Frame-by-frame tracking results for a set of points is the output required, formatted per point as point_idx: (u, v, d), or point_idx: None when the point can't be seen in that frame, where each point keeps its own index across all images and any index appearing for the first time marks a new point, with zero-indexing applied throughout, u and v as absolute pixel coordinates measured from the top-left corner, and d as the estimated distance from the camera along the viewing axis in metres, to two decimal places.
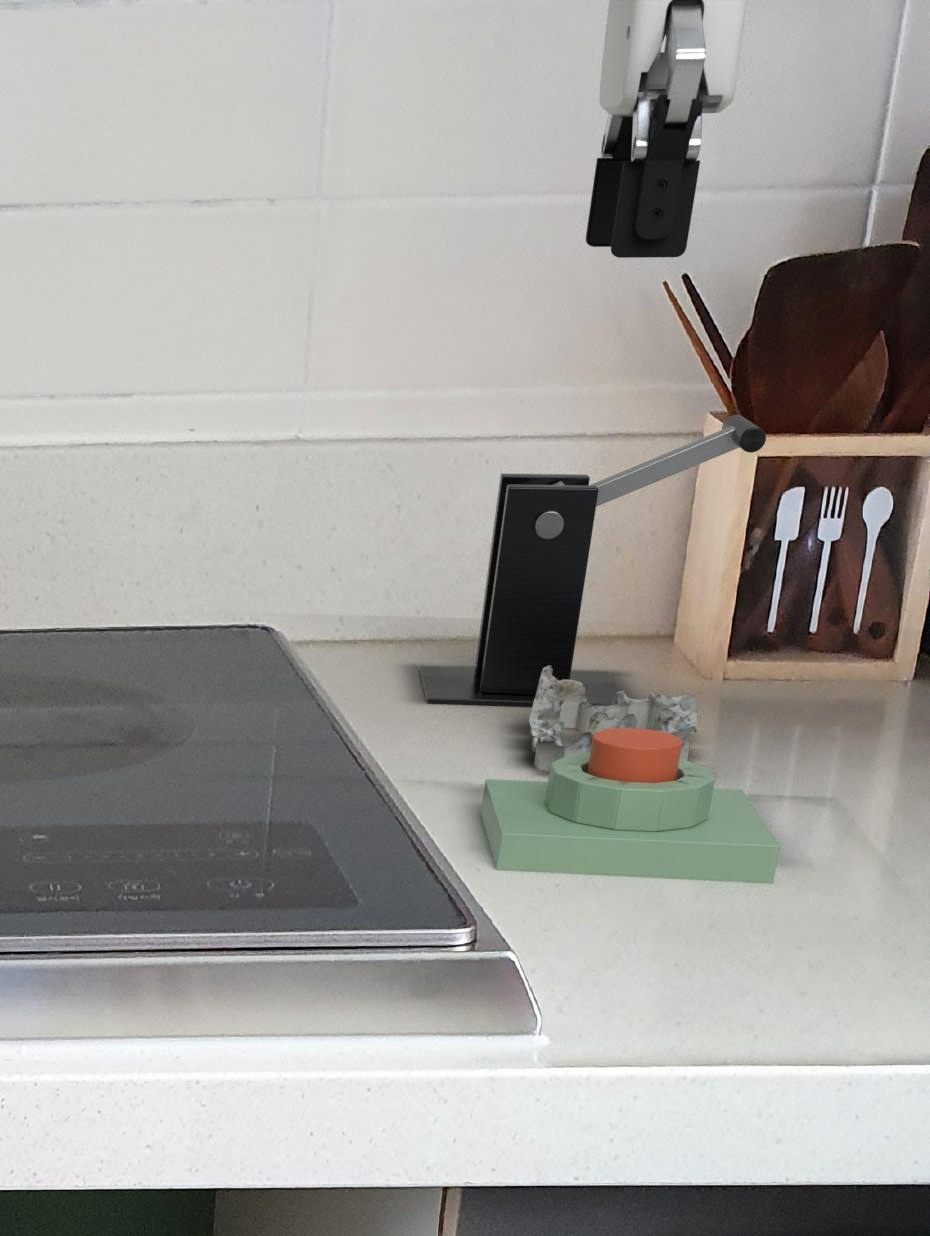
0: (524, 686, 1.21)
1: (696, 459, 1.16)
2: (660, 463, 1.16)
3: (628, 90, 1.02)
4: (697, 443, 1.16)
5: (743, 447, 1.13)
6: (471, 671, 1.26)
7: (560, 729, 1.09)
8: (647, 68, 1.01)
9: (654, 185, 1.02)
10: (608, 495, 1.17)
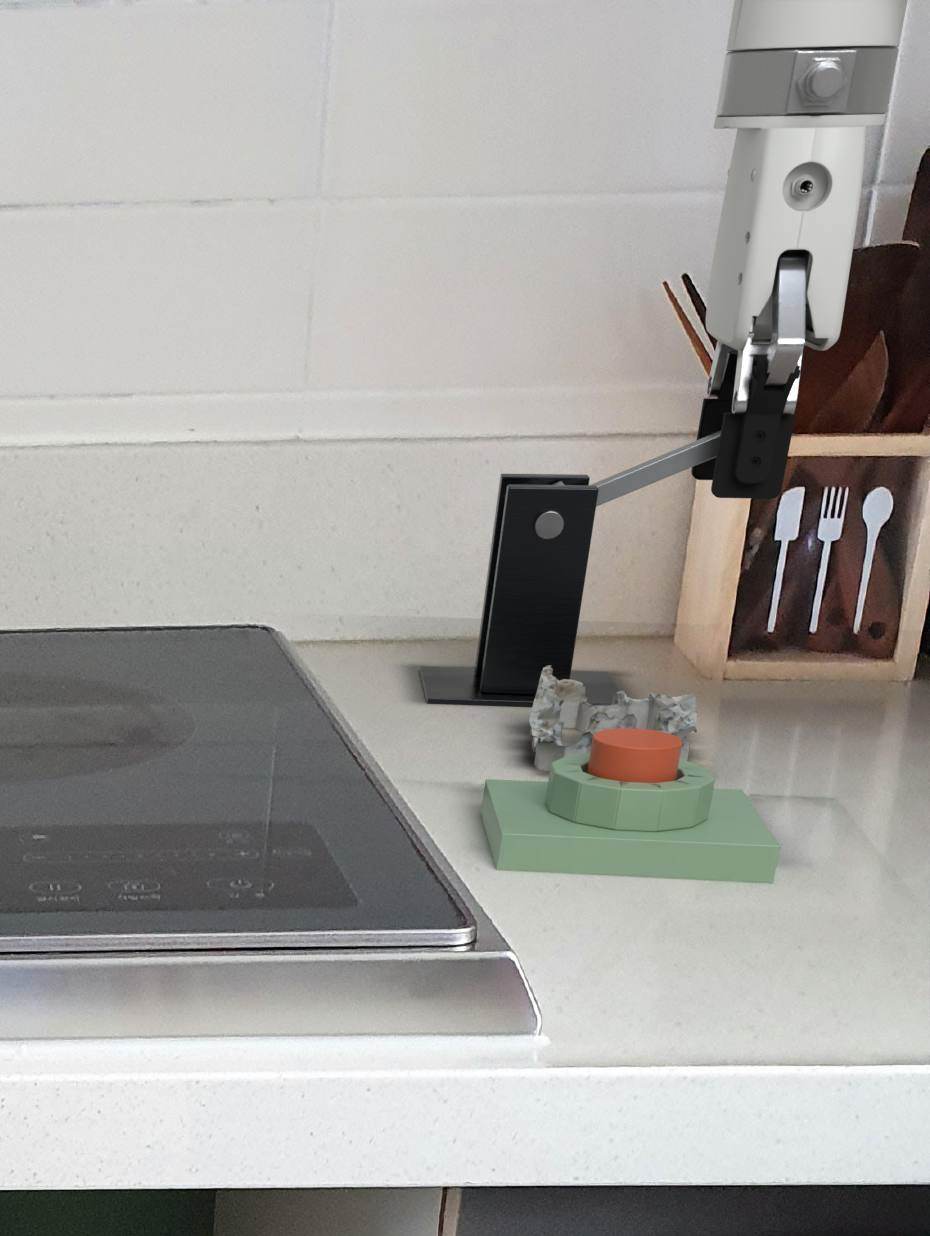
0: (524, 686, 1.21)
1: (696, 459, 1.16)
2: (660, 463, 1.16)
3: (739, 331, 1.09)
4: (697, 443, 1.16)
5: None
6: (471, 671, 1.26)
7: (560, 729, 1.09)
8: (758, 312, 1.09)
9: (753, 436, 1.12)
10: (608, 495, 1.17)
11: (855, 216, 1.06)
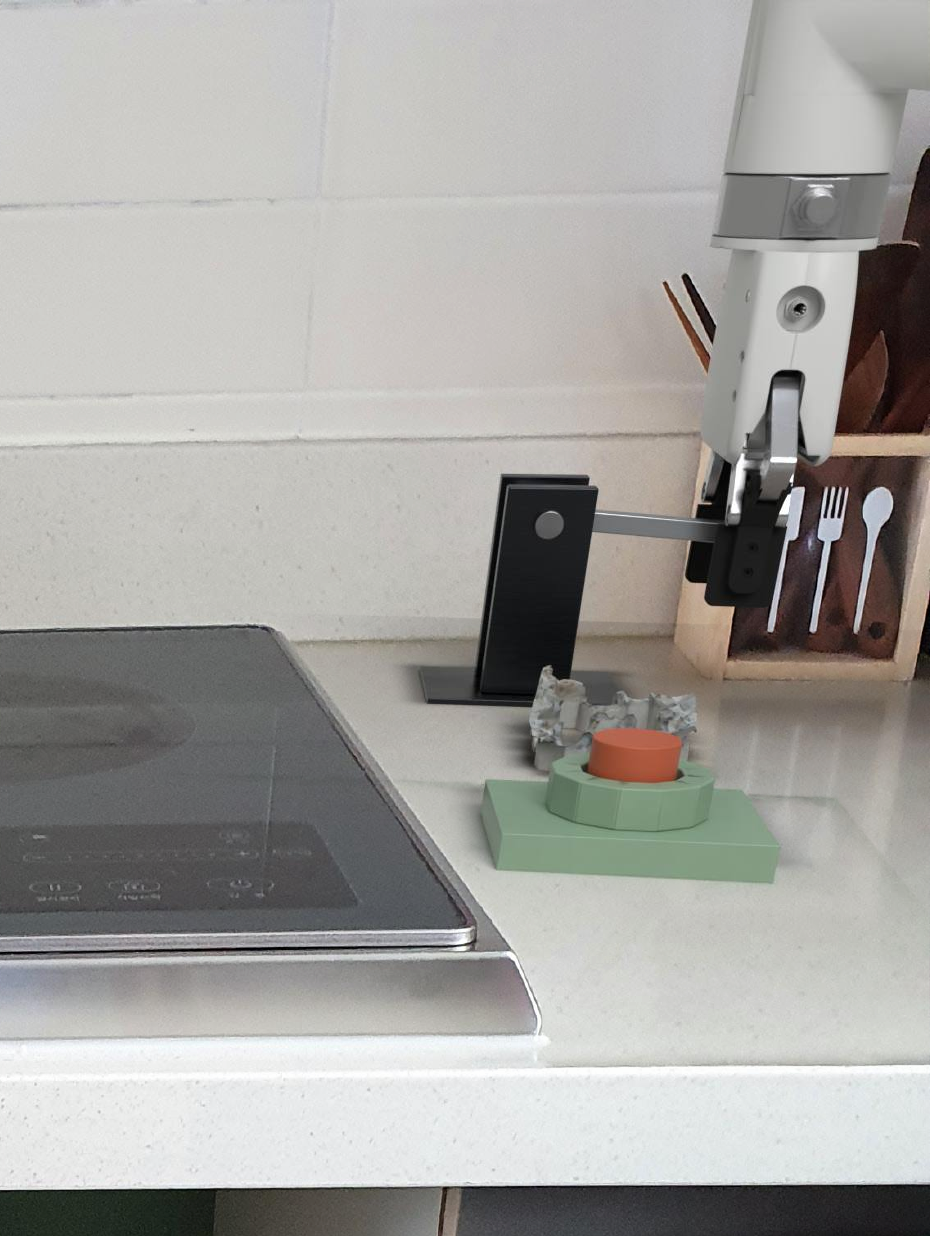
0: (524, 686, 1.21)
1: (695, 535, 1.17)
2: (664, 522, 1.17)
3: (733, 447, 1.12)
4: (704, 521, 1.17)
5: None
6: (471, 671, 1.26)
7: (560, 729, 1.09)
8: (751, 430, 1.11)
9: (745, 548, 1.14)
10: (607, 527, 1.18)
11: (847, 338, 1.08)
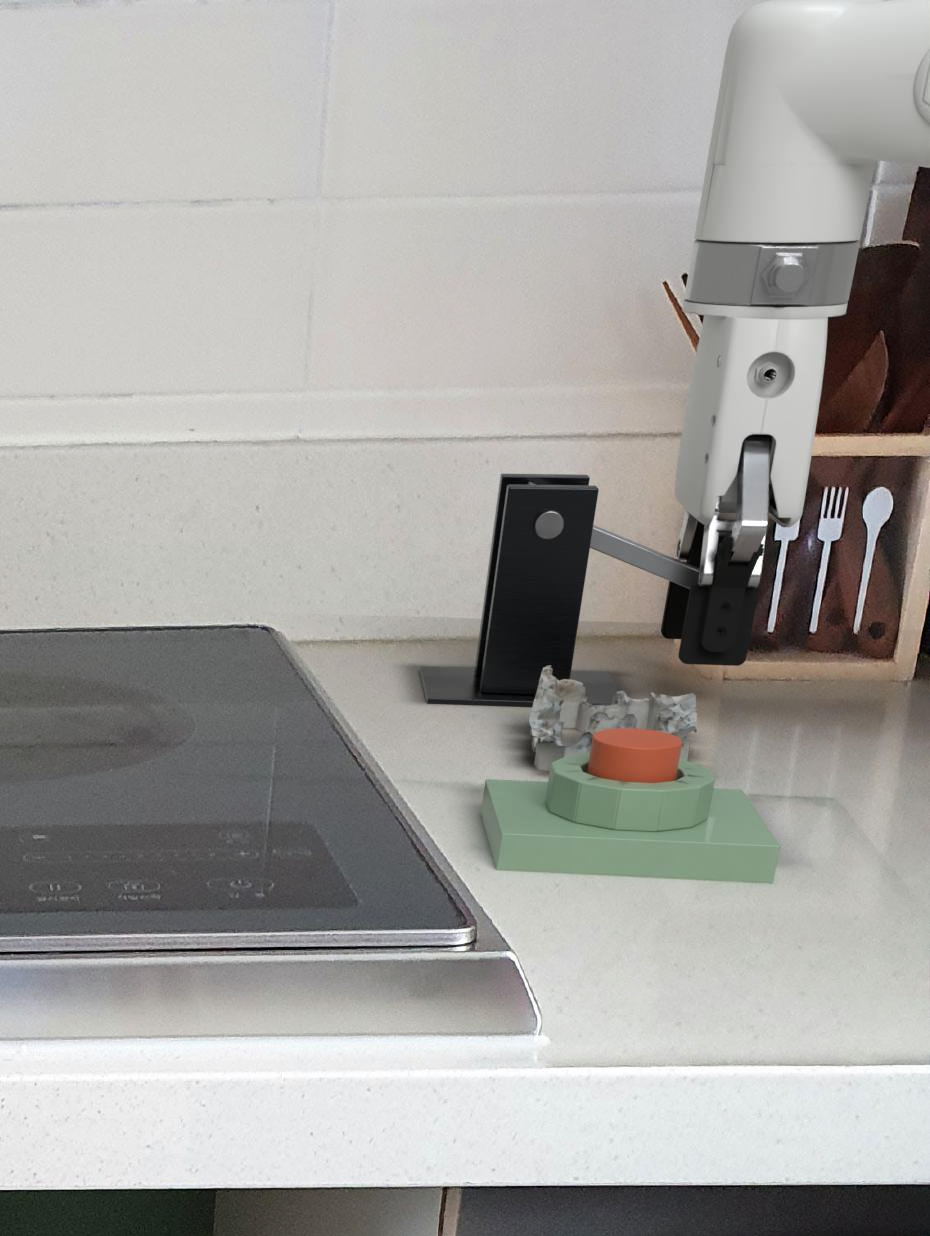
0: (524, 686, 1.21)
1: (676, 577, 1.18)
2: (653, 556, 1.18)
3: (705, 509, 1.13)
4: (689, 566, 1.18)
5: None
6: (471, 671, 1.26)
7: (560, 729, 1.09)
8: (723, 492, 1.12)
9: (718, 607, 1.15)
10: (599, 545, 1.19)
11: (817, 403, 1.10)
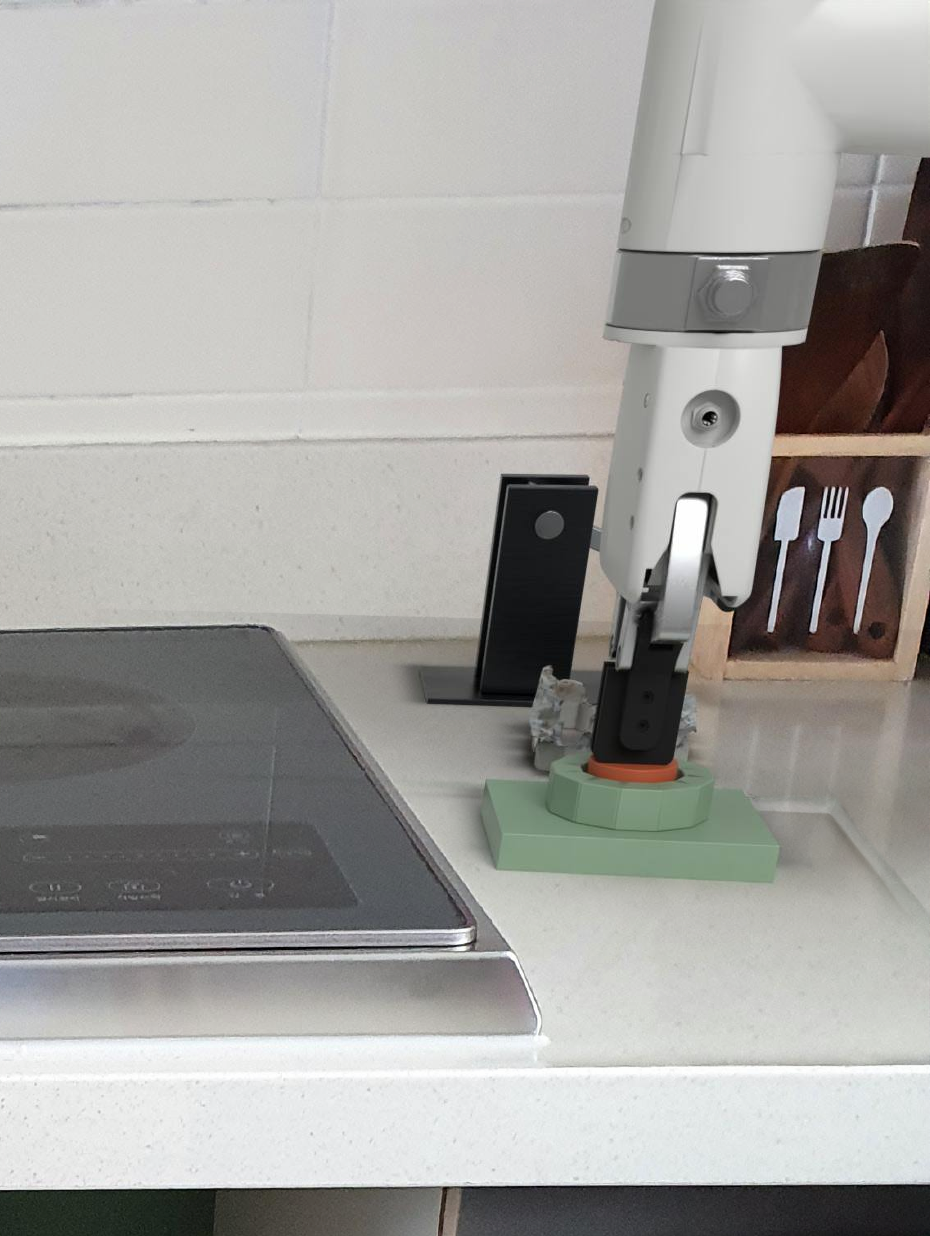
0: (524, 686, 1.21)
1: None
2: None
3: (631, 585, 0.91)
4: None
5: (719, 599, 1.16)
6: (471, 671, 1.26)
7: (560, 729, 1.09)
8: (653, 565, 0.90)
9: (639, 696, 0.95)
10: (599, 545, 1.19)
11: (769, 454, 0.87)
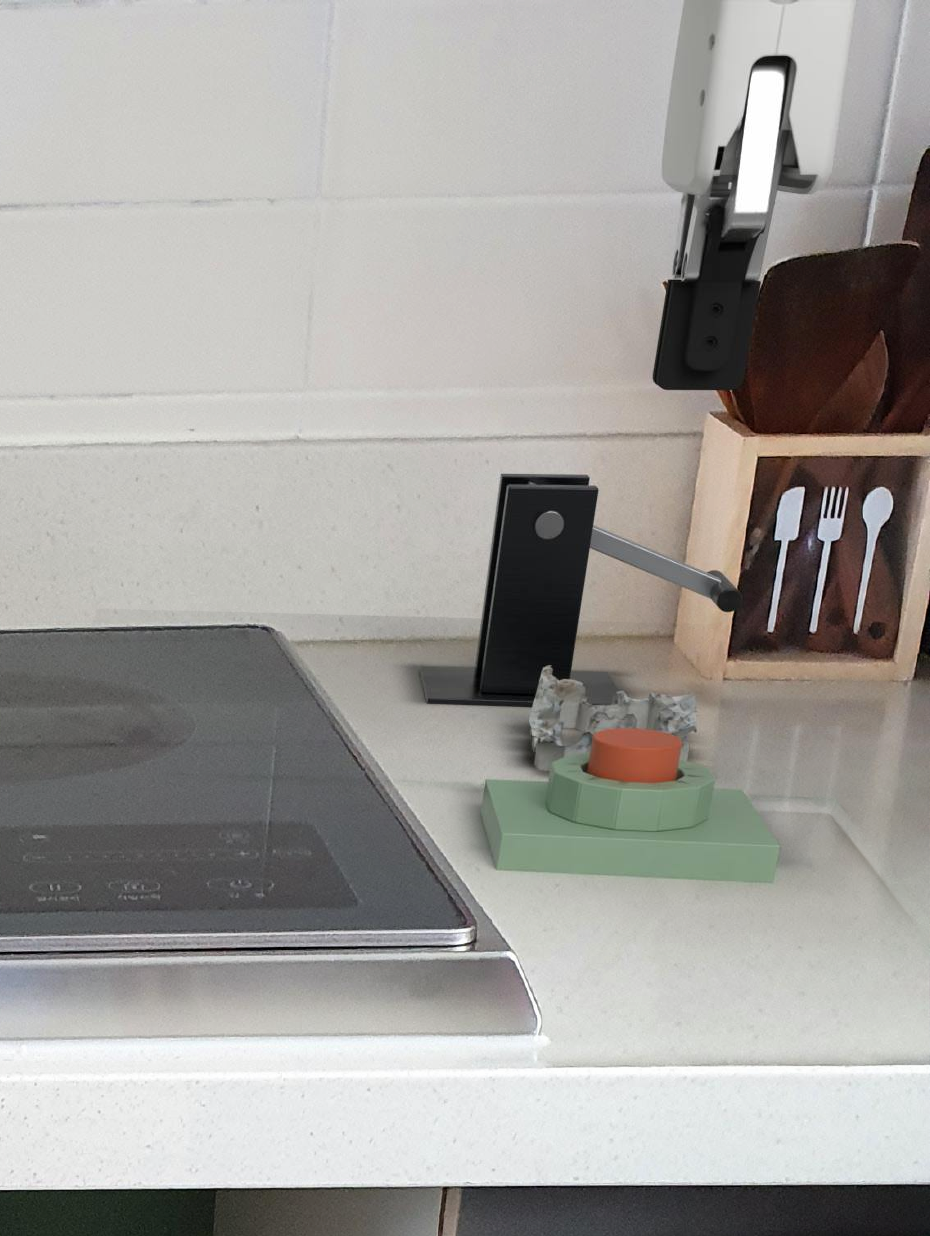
0: (524, 686, 1.21)
1: (676, 578, 1.18)
2: (653, 556, 1.18)
3: (701, 167, 0.84)
4: (688, 566, 1.18)
5: (719, 599, 1.16)
6: (471, 671, 1.26)
7: (560, 729, 1.09)
8: (725, 141, 0.83)
9: (707, 309, 0.89)
10: (599, 545, 1.19)
11: (852, 10, 0.81)
